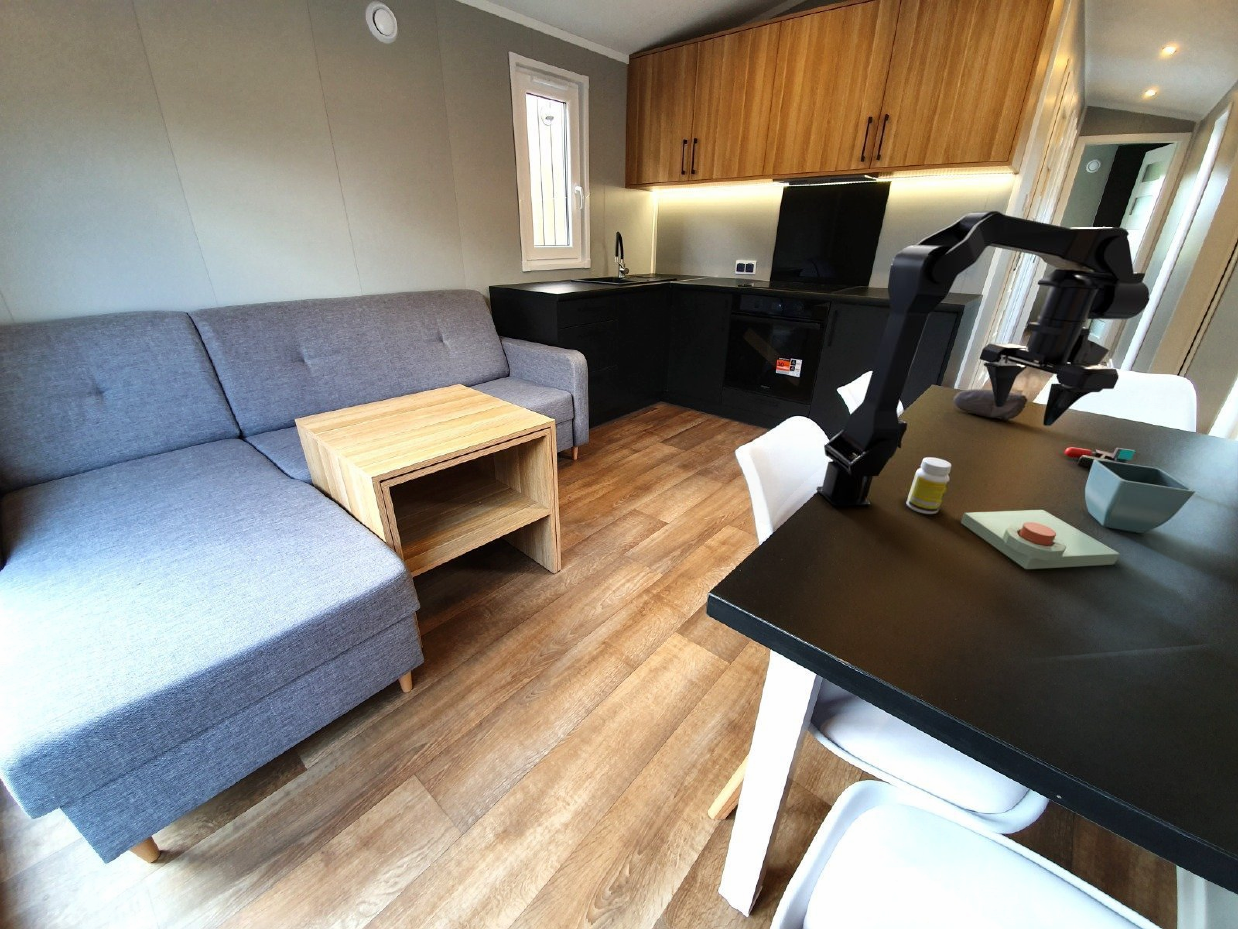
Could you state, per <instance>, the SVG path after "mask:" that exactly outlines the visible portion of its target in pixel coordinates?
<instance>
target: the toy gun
mask: <svg viewBox="0 0 1238 929" xmlns="http://www.w3.org/2000/svg"><path fill="white" fill-rule="evenodd" d="M1135 452H1136V450H1135V449H1129V448H1123V447H1122V448H1121V447H1115V449H1114V451H1113V452H1109V451H1104V450H1100V449H1094V451H1092V450H1091V449H1087V448H1086V449H1085V448H1080V447H1074V446H1069V447H1066V449H1065V450H1064V454H1065V456H1066V457H1068V458H1074V459H1078V460H1077V463H1076V465H1077V466H1078V467H1081V468H1086V469H1090V470H1091V467H1092V464H1093V461H1094V460H1095V459H1097V460H1105V461H1112V462H1119V463H1126V464H1127V461H1131V460H1132V458H1133V456H1134V454H1135Z"/></svg>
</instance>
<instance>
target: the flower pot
mask: <svg viewBox="0 0 1238 929" xmlns="http://www.w3.org/2000/svg"><path fill="white" fill-rule="evenodd" d="M1195 493H1196V490H1194V489H1193V488H1191V487H1190V486H1188V485H1187V484H1185V483H1183V482H1182V481H1180V480H1178V479H1177V478H1175V477H1174V476H1172V475H1171V474H1168V472H1166V471H1164V470H1163V469H1161V468H1159V467H1152V466H1147V465H1146V466H1145V465H1139V464H1131V463H1127V462H1126V463H1119V462H1112V461H1105V460H1097V459H1095V460H1094V461H1093V464H1092V467H1091V469H1090V470H1089V474H1088V478H1087V480H1086V483H1085V488H1084V499H1085V504H1086V507H1087V508H1086V509H1087V511H1088V513H1089V514H1090V515H1091V516H1092V517H1093V518H1094V519H1095V520H1096V521H1097V522H1098V523H1099V524H1100V525H1101V526H1102V527H1104V528H1108V529H1115V530H1120V531H1126V532H1131V533H1137V534H1143V533H1146V532H1150V531H1152V530H1155V529H1156V528H1160V526H1161V527H1162V526H1163V525H1164V524H1166V523H1167V522H1168V521H1170V520H1171V519H1172V518H1173V517H1174V516H1176V514H1177V513H1178V512H1179V511H1180V510H1181V509H1182V508H1183V507H1184V505H1185V504H1186V503H1187V502H1188V501H1189V500H1190V498H1192V496H1193V495H1194V494H1195Z"/></svg>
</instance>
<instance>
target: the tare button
mask: <svg viewBox="0 0 1238 929" xmlns="http://www.w3.org/2000/svg"><path fill="white" fill-rule="evenodd" d="M1019 536H1020V537H1022V538H1023V539H1025V540H1026V541H1029V542H1031V543H1034V544H1037V545H1042V546H1050V545H1051V544H1052V542H1053V540H1054V538H1055V536H1056V532H1055V531H1054V530H1052V529H1051V528H1049V527H1047V526H1045V525H1042V524H1038V523H1033V522H1026V523H1024V524H1023V526H1022V529H1021V531H1020V533H1019Z"/></svg>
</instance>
